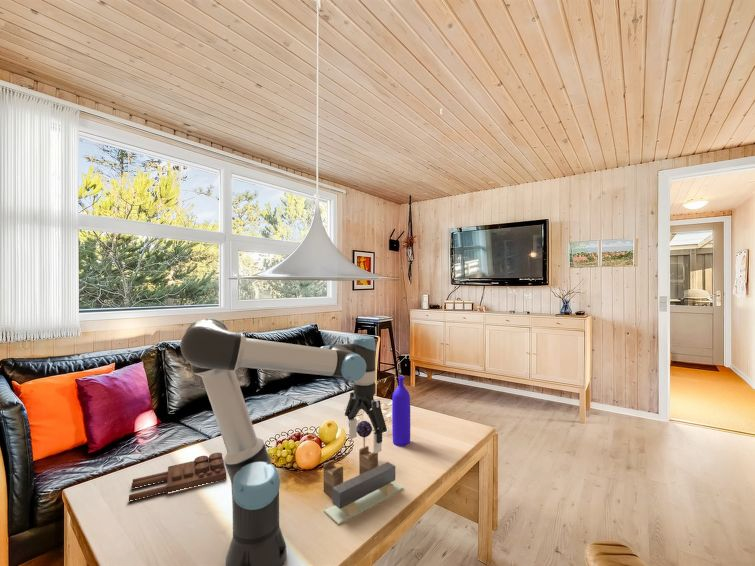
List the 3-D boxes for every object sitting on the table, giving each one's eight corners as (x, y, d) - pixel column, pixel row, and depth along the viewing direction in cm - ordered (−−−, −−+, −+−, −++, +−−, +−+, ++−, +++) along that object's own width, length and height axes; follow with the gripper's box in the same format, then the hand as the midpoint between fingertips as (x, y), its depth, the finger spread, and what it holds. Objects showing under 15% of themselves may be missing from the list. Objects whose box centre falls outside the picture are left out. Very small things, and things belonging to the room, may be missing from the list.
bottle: (389, 440, 163) (388, 375, 163) (404, 437, 166) (404, 373, 166) (397, 448, 155) (397, 380, 155) (413, 444, 159) (413, 378, 159)
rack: (333, 499, 119) (333, 470, 119) (323, 491, 124) (323, 463, 124) (378, 477, 132) (377, 451, 132) (367, 470, 137) (367, 445, 137)
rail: (339, 509, 109) (339, 493, 109) (332, 503, 112) (332, 487, 112) (395, 480, 125) (395, 466, 125) (387, 475, 128) (387, 461, 128)
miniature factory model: (226, 467, 132) (128, 491, 117) (226, 480, 132) (128, 506, 117) (221, 450, 145) (133, 469, 131) (221, 461, 145) (133, 482, 131)
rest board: (338, 525, 107) (338, 515, 107) (323, 512, 113) (323, 502, 113) (403, 488, 125) (403, 480, 125) (388, 479, 131) (388, 471, 131)
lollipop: (370, 461, 144) (370, 425, 144) (354, 460, 145) (354, 423, 145) (374, 453, 151) (373, 418, 151) (358, 452, 152) (358, 417, 152)
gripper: (397, 388, 113) (397, 454, 113) (352, 373, 132) (352, 429, 132) (379, 393, 108) (380, 462, 108) (335, 376, 127) (335, 435, 127)
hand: (364, 444), depth 120 cm, fingers open, 13 cm apart
